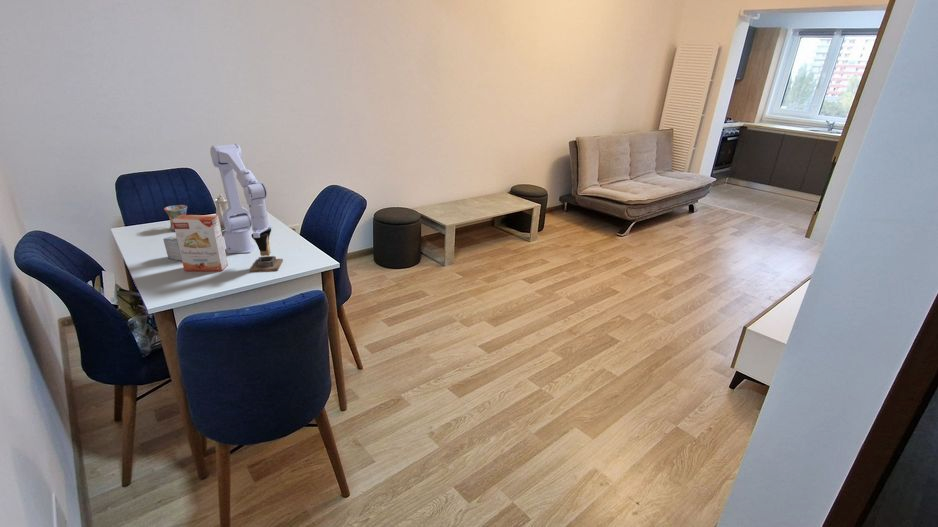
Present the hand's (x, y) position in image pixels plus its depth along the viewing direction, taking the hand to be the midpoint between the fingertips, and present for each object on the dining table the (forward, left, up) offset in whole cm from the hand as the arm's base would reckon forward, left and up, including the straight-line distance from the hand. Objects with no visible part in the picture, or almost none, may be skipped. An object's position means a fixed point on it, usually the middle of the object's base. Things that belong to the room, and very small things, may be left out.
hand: (264, 249), depth 174 cm
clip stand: (0, 0, -7) cm, 7 cm away
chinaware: (-28, +52, -8) cm, 60 cm away
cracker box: (-22, 0, -7) cm, 23 cm away
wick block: (0, 0, -2) cm, 2 cm away
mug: (-51, +51, -7) cm, 72 cm away
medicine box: (-36, +12, -7) cm, 39 cm away
